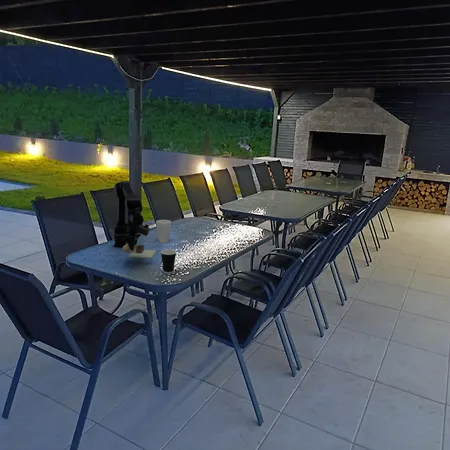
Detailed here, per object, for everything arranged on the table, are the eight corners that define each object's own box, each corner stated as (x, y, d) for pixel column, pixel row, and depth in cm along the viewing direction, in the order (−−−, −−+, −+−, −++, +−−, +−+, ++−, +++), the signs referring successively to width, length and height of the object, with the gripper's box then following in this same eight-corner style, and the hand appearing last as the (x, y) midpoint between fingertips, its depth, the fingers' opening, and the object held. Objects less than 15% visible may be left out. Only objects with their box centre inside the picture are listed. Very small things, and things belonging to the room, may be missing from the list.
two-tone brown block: (123, 252, 211) (122, 247, 210) (125, 249, 216) (125, 244, 215) (141, 253, 211) (141, 248, 210) (143, 250, 216) (143, 245, 215)
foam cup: (158, 243, 249) (158, 223, 246) (154, 239, 257) (154, 220, 254) (173, 242, 254) (173, 222, 250) (168, 238, 261) (168, 219, 258)
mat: (128, 257, 221) (128, 256, 221) (134, 250, 234) (134, 249, 233) (151, 258, 221) (151, 257, 221) (156, 251, 234) (156, 250, 233)
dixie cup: (178, 274, 200) (178, 253, 197) (162, 275, 197) (162, 254, 194) (173, 268, 207) (173, 248, 204) (158, 270, 204) (158, 249, 201)
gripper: (144, 226, 200) (144, 255, 204) (151, 217, 218) (151, 245, 222) (122, 225, 200) (123, 254, 204) (131, 217, 218) (132, 244, 222)
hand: (133, 249), depth 213 cm, fingers closed on two-tone brown block, 5 cm apart
